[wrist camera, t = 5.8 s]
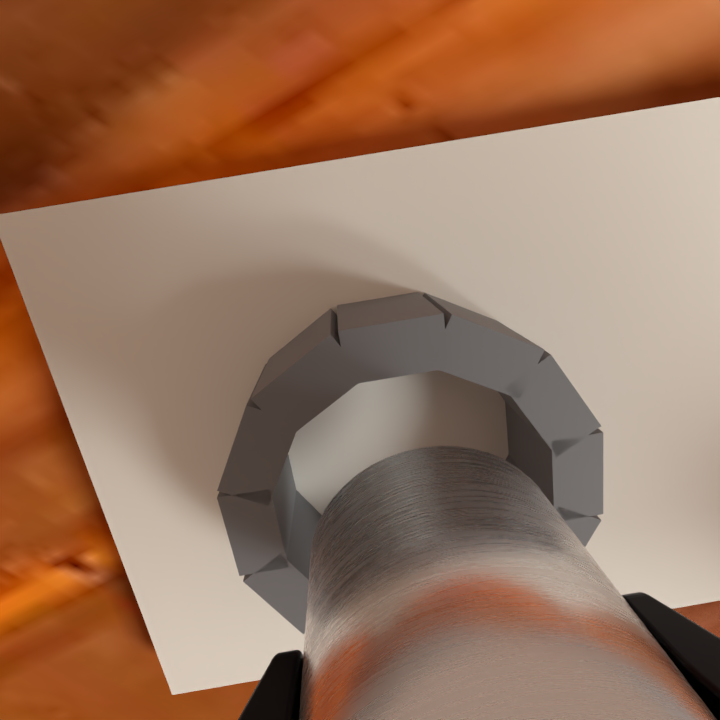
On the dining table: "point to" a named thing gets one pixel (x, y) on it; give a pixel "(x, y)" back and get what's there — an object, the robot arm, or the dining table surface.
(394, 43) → the dining table surface
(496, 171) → the plate
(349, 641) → the piston
